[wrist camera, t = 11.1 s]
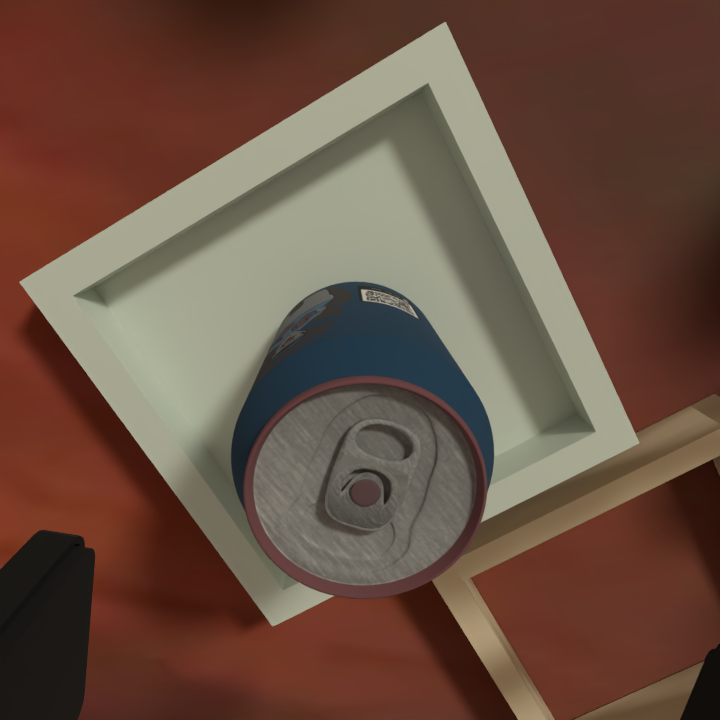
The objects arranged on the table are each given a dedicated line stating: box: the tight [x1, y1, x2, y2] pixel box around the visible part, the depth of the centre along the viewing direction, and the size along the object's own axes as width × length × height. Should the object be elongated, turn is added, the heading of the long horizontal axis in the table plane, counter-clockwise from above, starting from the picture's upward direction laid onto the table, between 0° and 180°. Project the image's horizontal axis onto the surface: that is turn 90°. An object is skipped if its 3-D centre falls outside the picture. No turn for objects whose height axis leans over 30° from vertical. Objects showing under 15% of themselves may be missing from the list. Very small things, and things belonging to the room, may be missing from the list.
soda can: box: [231, 282, 494, 599], centre depth 19 cm, size 7×7×12 cm
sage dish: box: [20, 22, 639, 626], centre depth 24 cm, size 18×18×3 cm
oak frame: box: [432, 394, 720, 720], centre depth 28 cm, size 15×15×2 cm
